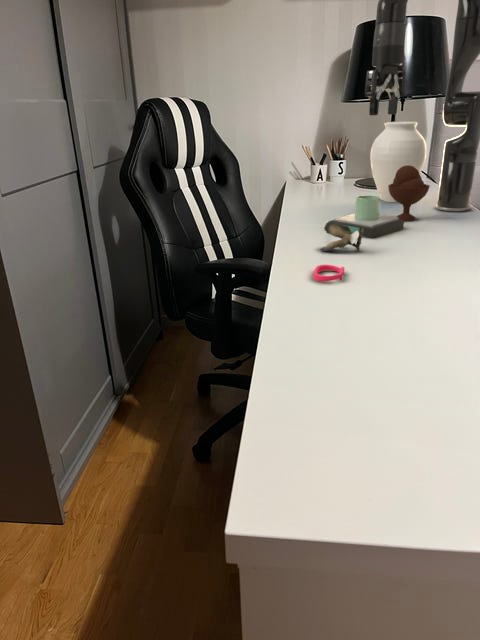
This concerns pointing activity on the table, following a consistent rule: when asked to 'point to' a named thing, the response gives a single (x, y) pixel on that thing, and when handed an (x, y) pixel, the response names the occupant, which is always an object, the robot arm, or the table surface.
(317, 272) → the fitness band
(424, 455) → the table surface
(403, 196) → the ice cream bowl
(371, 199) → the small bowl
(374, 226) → the scale
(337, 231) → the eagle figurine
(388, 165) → the vase
